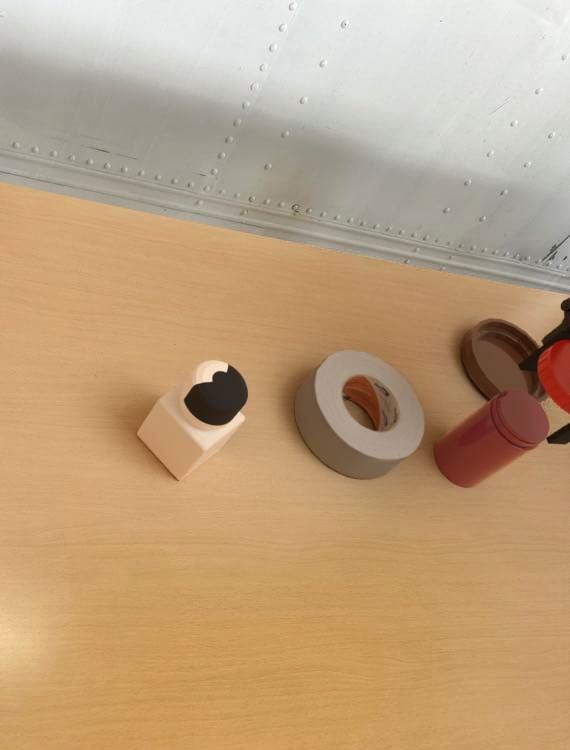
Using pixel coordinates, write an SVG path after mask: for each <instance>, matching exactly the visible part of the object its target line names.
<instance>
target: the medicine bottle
mask: <svg viewBox="0 0 570 750" xmlns="http://www.w3.org/2000/svg"><path fill="white" fill-rule="evenodd" d="M248 397H249V390H248V386H247V382H246V380H245V379H244V377H243V375H242V374H241V373H240V371H238V369H236V368H235V367H234V366H233V365H231V364H229V363H227V362H225V361H221V360H215V359H210V360H204V361H203V362H201V363H199V364H198V365H196V366H195V368H194V369H193V371H192V373H191V374H190V376H189V377H188V378H187V379H186V380H184V381H183V382H181V383H180V384H178V385H177V386H175V387H174V388H173V389H171V390H170V391H168V392H167V393H165V394H164V395H163V396H161V397H160V398H158V399H157V401H156V402H155V404H154V406H153V407H152V408H151V410H150V412H149V413H148V415H147V416H146V418H145V420H144V421H143V423H142V424H141V425H140V427H139V428H138V430H137V432H136V436H137V437H138V438H139V439H140V441H142V442H143V444H144V445H145V446H146V447H147V448H148V449H149V450H150V451H151V452H152V454H154V456H155V457H156V458H157V459H158V460H159V461H160V462H161V464H162V465H163V466H164V467H166V469H167V470H168V471H169V472H170V473H171V474H172V475H173V477H174V478H175V479H176V480H178V481H183V480H184V479H185V478H187V477H188V475H190V474H192V473H194V471H195V470H196V469H198V468H200V466H201V465H202V464H204V463H205V462H207V461H208V460H209V459H210V458H212V456H214V455H215V454H216V453H218V452H219V451H220V450H221V448H222V447H224V446H225V444H226V443H227V442H228V440H229V439H230V438H232V436H233V435H234V434H235V432H236V431H237V430H238V429H239V428H240V427H241V425H242V424H244V422H245V421H246V416H245V415H244V414H243V413H242V412H241V410H242V409H243V408H244V406H245V405H246V404H247V402H248Z"/></svg>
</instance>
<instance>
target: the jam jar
mask: <svg viewBox="0 0 570 750" xmlns="http://www.w3.org/2000/svg"><path fill="white" fill-rule="evenodd" d="M549 433H550V420H549V417H548V415H547V412H546V411H545V409H544V407H543V406H542V405H541V404H540V403H539V402H538V401H537V400H536V399H535V398H534V397H532V396H531V395H530V394H528V393H526V392H524V391H522V390H519V389H507V390H505V391H503V392H502V393H501V394H498V395H496V396H494V397H493V398H492V399H489V400H487V401H486V402H485V403H484V404H482V405H481V406H480V407H478V408H477V409H476V410H474V411H473V412H472V413H471V414H469V415H468V416H466V417H465V418H464V419H462V420H461V421H460V422H458V423H457V424H456V425H454V426H453V427H452V428H451V429H449V430H448V431H446V432H445V433H444V434H443V435H441V436H440V437H439V438H437V440H436V442H435V444H434V452H433V453H434V459H435V461H436V465H437V466H438V468H439V470H440V471H441V473H442V474H443V475H444V476H445V477H446V478H447V480H449V481H450V482H452V483H453V484H455V485H457V486H458V487H461V488H467V489H468V488H469V489H470V488H475V487H477V486H478V485H480V484H483V482H485V481H487V480H489V478H491V477H493V476H494V475H496V474H497V473H499V472H500V471H502V470H503V469H505V468H507V467H509V466H510V465H512V464H513V463H515V462H516V461H518V460H519V459H521V458H522V457H524V456H525V455H528V453H530V452H532V451H533V450H534V449H536V448H537V447H538V446H539V445H540V444H541V443H543V442H544V441H545V439H546V437H548V436H549Z"/></svg>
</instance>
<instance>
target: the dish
mask: <svg viewBox="0 0 570 750" xmlns="http://www.w3.org/2000/svg"><path fill="white" fill-rule="evenodd" d="M540 347H541V345H539V344H538V342H537V341H536V340H535V339H534V338H533V337H532V336H531V335H530V334H529V333H528V332H527V331H525V330H524V329H522V328H521V327H519V326H518V325H516V324H514V323H513V322H509V321H508V320H505V319H502V318H494V317H493V318H492V317H491V318H486V319H483V320H481V321H479V322H478V323H477V324H476V325H474V327H472V328H471V329H470V330H469V331H468V332H467V333H466V335H464V337H463V340H462V345H461V355H462V362H463V364H464V367H465V370H466V372H467V374H468V376H469V378H470V379H471V380H472V382H473V383H474V385H475V386H476V387H477V388H478V389H479V390H480V391H481V392H482V393H483V395H485V396H486V397H487V398H488V399H489V400H490V399H492V398H493V397H494V396H496V395H498V394H501V393H502V392H503V391H505V390H507V389H519V390H522V391H524V392H526V393H528V394H530V395H531V396H532V397H534V398H535V399H536V400H537V401H538V402H539V403H540V405H541V404H543V403H544V402H545V401H546V400H548V398H549V397H550V396H549V395H548V394H547V392H546V391H545V389H544V387H543V385H542V383H541V381H540V378H539V374H538V372H534V371H524V370H520V368H519V365H518V364H520V363H521V362H522V361H524V360H525V359H526V358H527V357H529V356H530V355H531V354H532V353H534V352H535V351H536V350H538V349H539V348H540Z"/></svg>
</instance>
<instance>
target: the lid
mask: <svg viewBox="0 0 570 750" xmlns="http://www.w3.org/2000/svg"><path fill="white" fill-rule="evenodd" d="M538 374H539V378H540V381H541V383H542V385H543V387H544V389H545V391H546V392H547V394H548V395H549V397H550V399H551V400H552V401H553V403H555V404H556V405H557V406H558V407H559V408H560V409H561V410H563V412H565V413H567V414H569V415H570V340H560V341H558V342H556V343H555V344H554V345H552V346H550V347H548V348H547V349H546V350H545V351H543V353H542V354H541V356H540V357H539V360H538Z"/></svg>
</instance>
